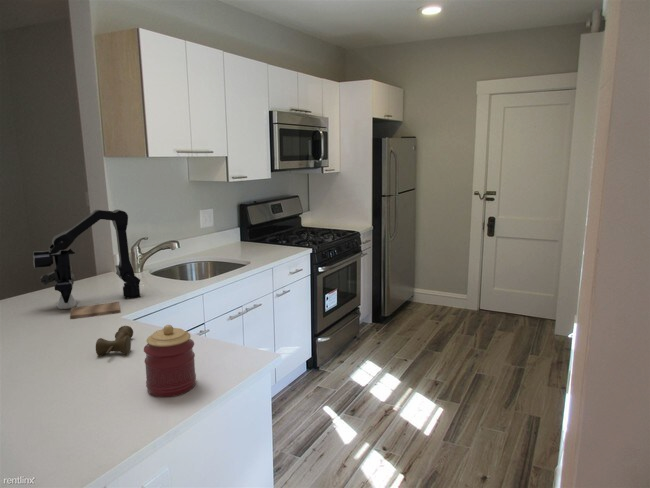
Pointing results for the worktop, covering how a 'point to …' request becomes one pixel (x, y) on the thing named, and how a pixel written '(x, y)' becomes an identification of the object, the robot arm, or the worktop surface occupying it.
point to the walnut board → (94, 310)
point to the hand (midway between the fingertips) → (66, 301)
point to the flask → (64, 305)
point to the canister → (169, 362)
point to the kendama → (116, 342)
